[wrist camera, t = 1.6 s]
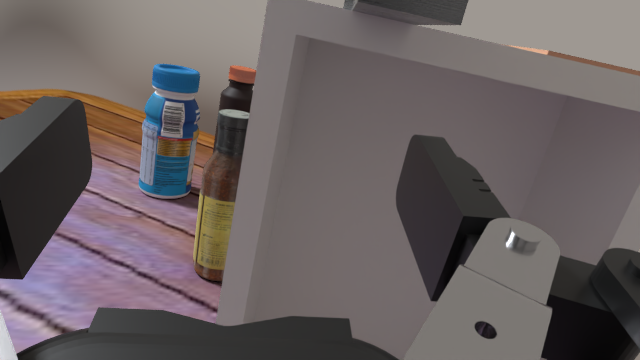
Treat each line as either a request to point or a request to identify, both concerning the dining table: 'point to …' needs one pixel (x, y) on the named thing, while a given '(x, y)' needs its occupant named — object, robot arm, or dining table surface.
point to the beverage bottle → (170, 133)
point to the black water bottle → (237, 92)
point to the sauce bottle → (219, 195)
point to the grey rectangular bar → (412, 10)
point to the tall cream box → (389, 154)
